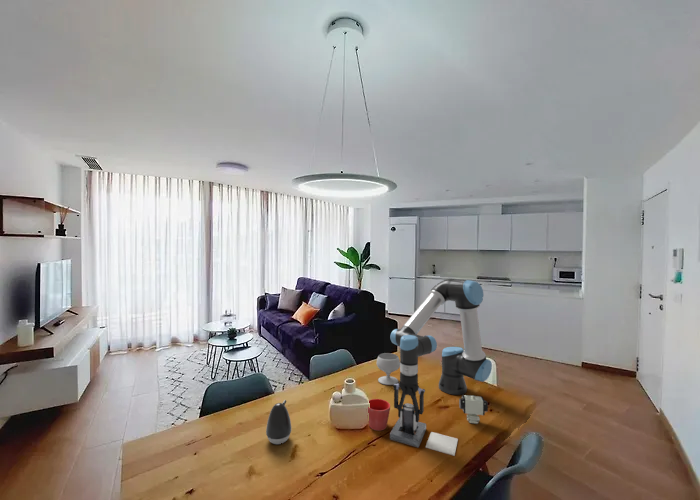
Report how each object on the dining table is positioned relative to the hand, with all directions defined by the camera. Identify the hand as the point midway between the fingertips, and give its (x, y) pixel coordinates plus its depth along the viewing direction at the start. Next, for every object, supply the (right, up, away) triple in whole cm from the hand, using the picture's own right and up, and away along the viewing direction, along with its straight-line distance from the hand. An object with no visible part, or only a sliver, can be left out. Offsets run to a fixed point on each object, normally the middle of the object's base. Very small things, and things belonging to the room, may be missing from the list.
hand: (408, 426), depth 131 cm
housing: (0, -3, 0) cm, 3 cm away
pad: (+13, -3, -6) cm, 14 cm away
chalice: (-2, -3, +52) cm, 52 cm away
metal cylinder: (0, -3, 0) cm, 3 cm away
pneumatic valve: (+32, -4, +10) cm, 33 cm away
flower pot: (-13, -3, +6) cm, 14 cm away
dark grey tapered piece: (-55, -3, -4) cm, 55 cm away
